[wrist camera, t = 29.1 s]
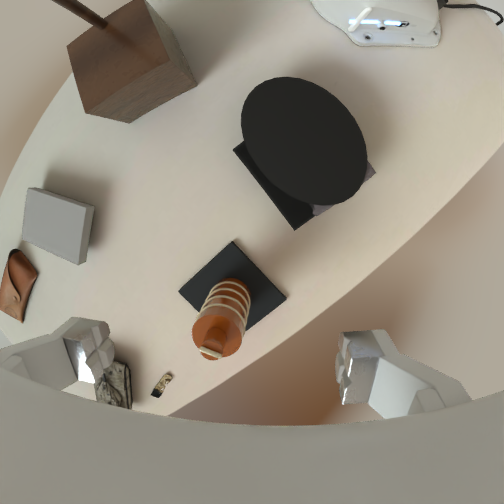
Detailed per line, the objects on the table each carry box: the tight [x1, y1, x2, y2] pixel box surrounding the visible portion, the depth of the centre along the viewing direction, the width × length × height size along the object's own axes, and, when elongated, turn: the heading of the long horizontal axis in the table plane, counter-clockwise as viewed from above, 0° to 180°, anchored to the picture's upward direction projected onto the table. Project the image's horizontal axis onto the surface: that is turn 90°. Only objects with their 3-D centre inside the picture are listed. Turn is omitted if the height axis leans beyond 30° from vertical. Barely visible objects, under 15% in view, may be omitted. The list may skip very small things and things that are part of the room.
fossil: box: [151, 374, 172, 398], centre depth 53 cm, size 8×2×1 cm, turn 148°
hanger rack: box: [52, 0, 197, 123], centre depth 21 cm, size 12×12×36 cm
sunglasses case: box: [0, 249, 37, 323], centre depth 49 cm, size 18×7×7 cm
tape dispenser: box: [233, 77, 376, 231], centre depth 36 cm, size 14×18×8 cm
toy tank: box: [94, 360, 132, 410], centre depth 48 cm, size 8×18×10 cm, turn 169°
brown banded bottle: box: [192, 278, 251, 360], centre depth 38 cm, size 6×6×16 cm
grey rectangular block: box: [22, 187, 95, 265], centre depth 43 cm, size 10×4×15 cm
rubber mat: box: [178, 241, 286, 331], centre depth 46 cm, size 12×12×1 cm
